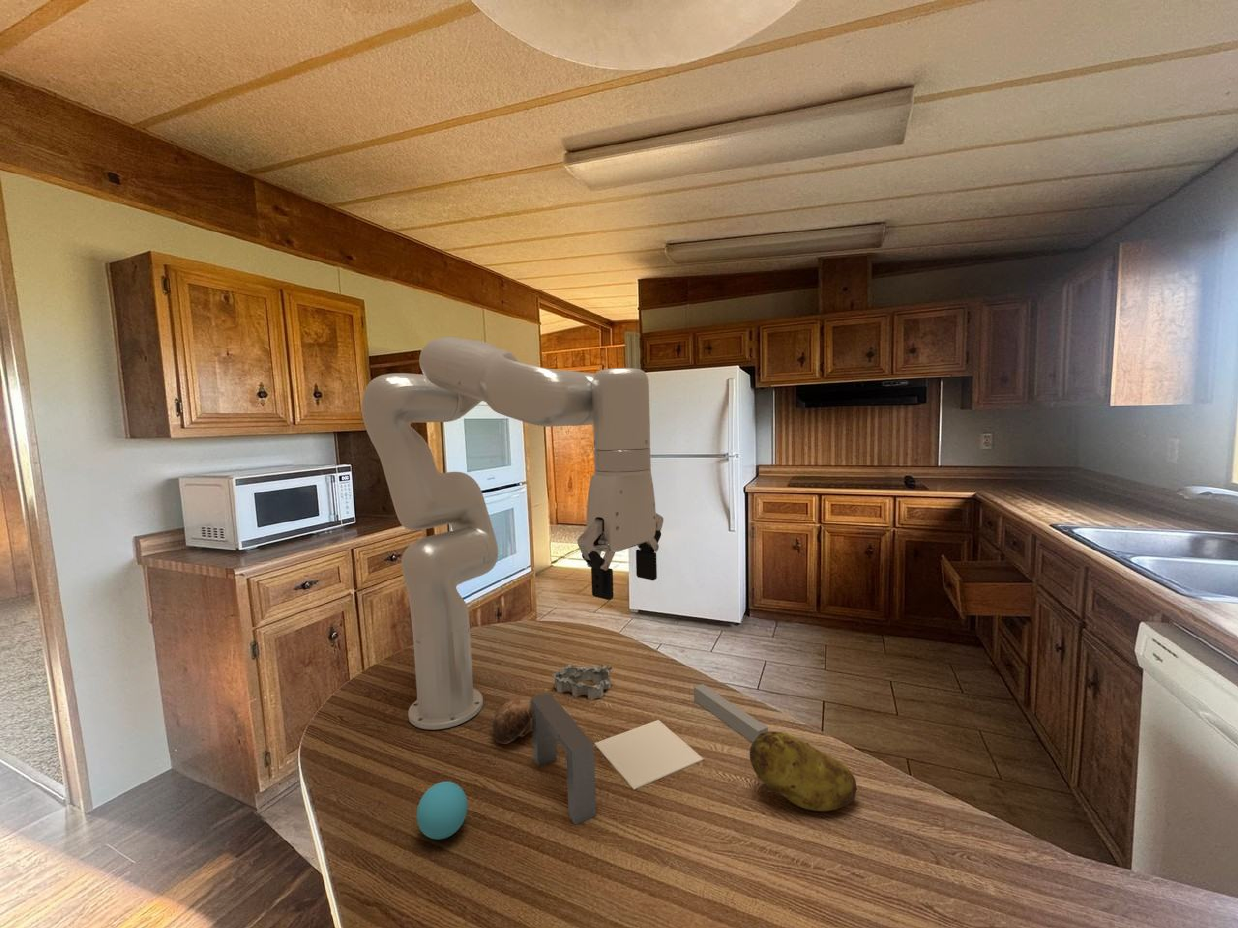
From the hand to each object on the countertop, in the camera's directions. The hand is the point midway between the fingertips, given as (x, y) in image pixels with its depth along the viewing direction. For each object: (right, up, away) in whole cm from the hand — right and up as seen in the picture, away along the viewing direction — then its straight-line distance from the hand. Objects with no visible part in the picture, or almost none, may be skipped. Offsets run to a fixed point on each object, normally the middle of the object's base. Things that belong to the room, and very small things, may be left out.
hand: (625, 587), depth 71 cm
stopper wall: (+17, -26, +16) cm, 35 cm away
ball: (-23, -26, -6) cm, 35 cm away
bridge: (-9, -28, +2) cm, 29 cm away
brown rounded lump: (-18, -28, +14) cm, 36 cm away
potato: (+23, -28, -2) cm, 36 cm away
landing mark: (+3, -27, +8) cm, 28 cm away
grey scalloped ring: (-8, -26, +28) cm, 40 cm away
